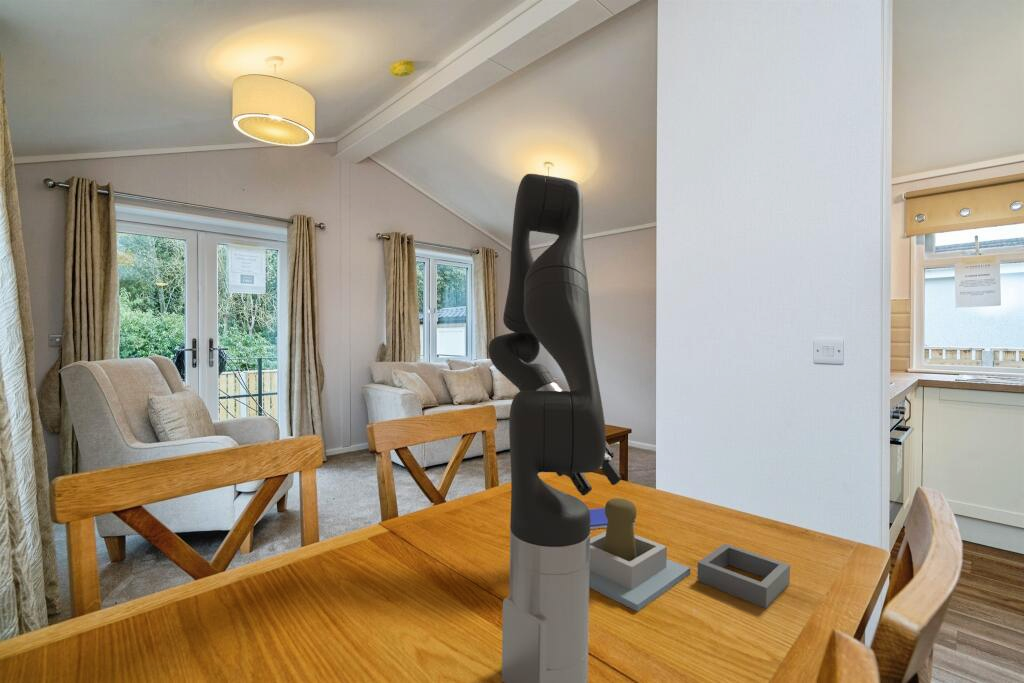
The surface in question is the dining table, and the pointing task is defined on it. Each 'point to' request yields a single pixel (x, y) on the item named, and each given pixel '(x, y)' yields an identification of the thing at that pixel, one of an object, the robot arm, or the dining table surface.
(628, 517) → the cork
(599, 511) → the blue book
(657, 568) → the dock
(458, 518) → the dining table surface
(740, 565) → the holster
